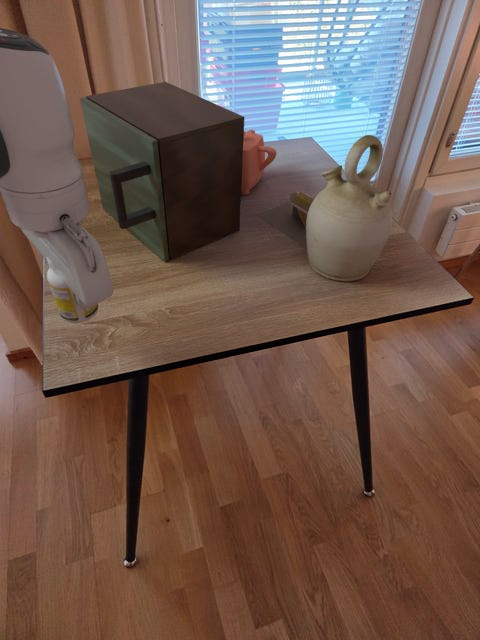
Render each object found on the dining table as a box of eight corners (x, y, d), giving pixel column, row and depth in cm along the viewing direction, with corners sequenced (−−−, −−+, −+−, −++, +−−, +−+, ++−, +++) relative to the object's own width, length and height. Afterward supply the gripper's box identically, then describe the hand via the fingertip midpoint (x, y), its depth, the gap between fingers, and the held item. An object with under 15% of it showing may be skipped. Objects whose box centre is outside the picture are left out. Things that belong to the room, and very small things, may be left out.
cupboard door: (134, 275, 78) (112, 151, 62) (74, 218, 92) (44, 104, 75) (169, 260, 82) (157, 140, 66) (107, 207, 95) (84, 97, 79)
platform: (309, 251, 86) (314, 223, 82) (255, 213, 96) (257, 187, 92) (348, 234, 92) (355, 207, 87) (294, 200, 102) (297, 174, 97)
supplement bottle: (95, 295, 62) (82, 239, 56) (102, 319, 59) (89, 262, 52) (57, 304, 61) (38, 247, 54) (62, 328, 57) (42, 271, 50)
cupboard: (170, 260, 82) (158, 138, 66) (108, 207, 96) (85, 96, 79) (239, 230, 91) (244, 116, 75) (173, 186, 104) (165, 81, 88)
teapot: (250, 167, 114) (253, 116, 105) (279, 192, 104) (284, 139, 95) (193, 177, 109) (191, 124, 99) (218, 205, 99) (218, 149, 89)
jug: (287, 249, 87) (305, 123, 69) (351, 237, 91) (383, 116, 73) (322, 295, 76) (354, 161, 59) (392, 278, 81) (441, 150, 63)
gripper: (117, 230, 44) (132, 324, 53) (40, 161, 55) (64, 250, 64) (58, 250, 41) (86, 346, 50) (-11, 173, 51) (22, 264, 61)
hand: (73, 291), depth 57 cm, fingers closed on supplement bottle, 5 cm apart
